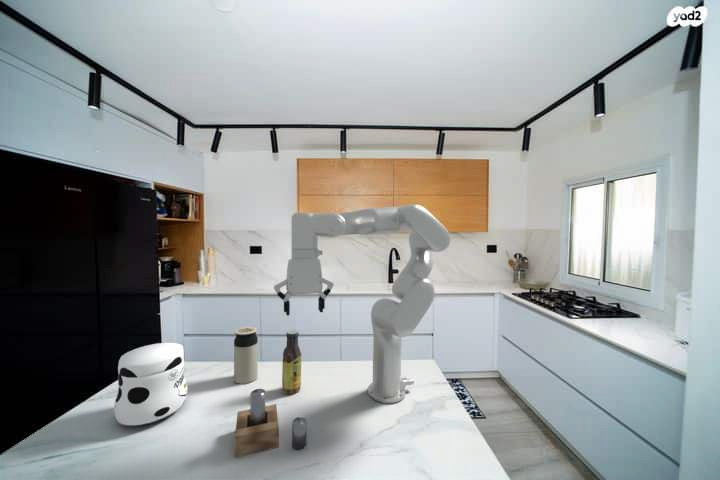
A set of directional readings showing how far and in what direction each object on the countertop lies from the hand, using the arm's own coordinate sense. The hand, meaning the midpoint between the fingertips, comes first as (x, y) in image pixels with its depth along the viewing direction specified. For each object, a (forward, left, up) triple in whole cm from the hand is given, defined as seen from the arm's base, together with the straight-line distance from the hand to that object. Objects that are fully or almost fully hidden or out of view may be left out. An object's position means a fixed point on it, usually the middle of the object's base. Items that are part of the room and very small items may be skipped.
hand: (304, 312), depth 82 cm
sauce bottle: (+2, -14, -30) cm, 34 cm away
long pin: (+13, +6, -30) cm, 33 cm away
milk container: (+42, -15, -30) cm, 54 cm away
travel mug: (+17, -27, -30) cm, 44 cm away
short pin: (+3, +12, -30) cm, 33 cm away
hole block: (+13, +6, -30) cm, 33 cm away
